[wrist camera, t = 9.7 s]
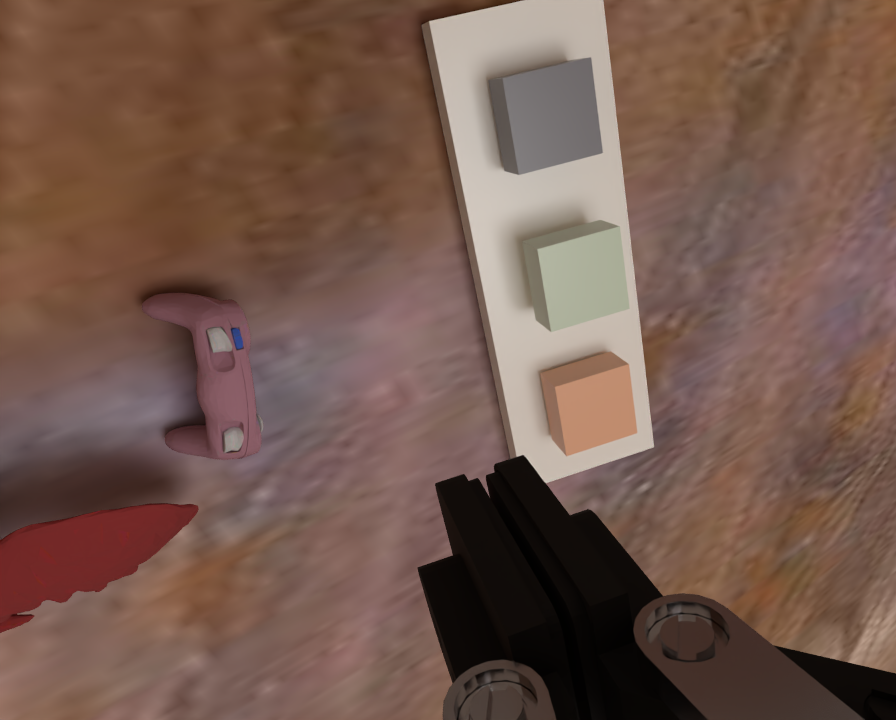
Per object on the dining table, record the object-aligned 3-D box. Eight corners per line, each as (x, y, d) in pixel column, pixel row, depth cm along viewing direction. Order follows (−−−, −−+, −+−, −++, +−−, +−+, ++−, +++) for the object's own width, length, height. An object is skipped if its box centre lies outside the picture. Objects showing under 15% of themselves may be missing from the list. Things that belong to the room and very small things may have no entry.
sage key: (521, 241, 41) (537, 249, 39) (600, 219, 42) (619, 226, 40) (535, 320, 43) (551, 332, 41) (610, 298, 44) (629, 308, 42)
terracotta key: (540, 373, 46) (554, 387, 43) (610, 351, 46) (628, 364, 44) (551, 439, 48) (566, 456, 45) (619, 417, 48) (637, 432, 46)
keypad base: (421, 25, 39) (429, 21, 38) (586, -12, 41) (601, -17, 39) (514, 476, 51) (523, 490, 49) (640, 435, 52) (653, 447, 50)
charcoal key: (488, 79, 39) (502, 78, 37) (571, 60, 40) (591, 57, 37) (504, 171, 41) (518, 174, 38) (584, 150, 41) (602, 153, 39)
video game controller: (231, 426, 46) (283, 464, 41) (161, 448, 43) (208, 492, 38) (211, 278, 43) (265, 299, 38) (133, 291, 40) (180, 317, 35)
